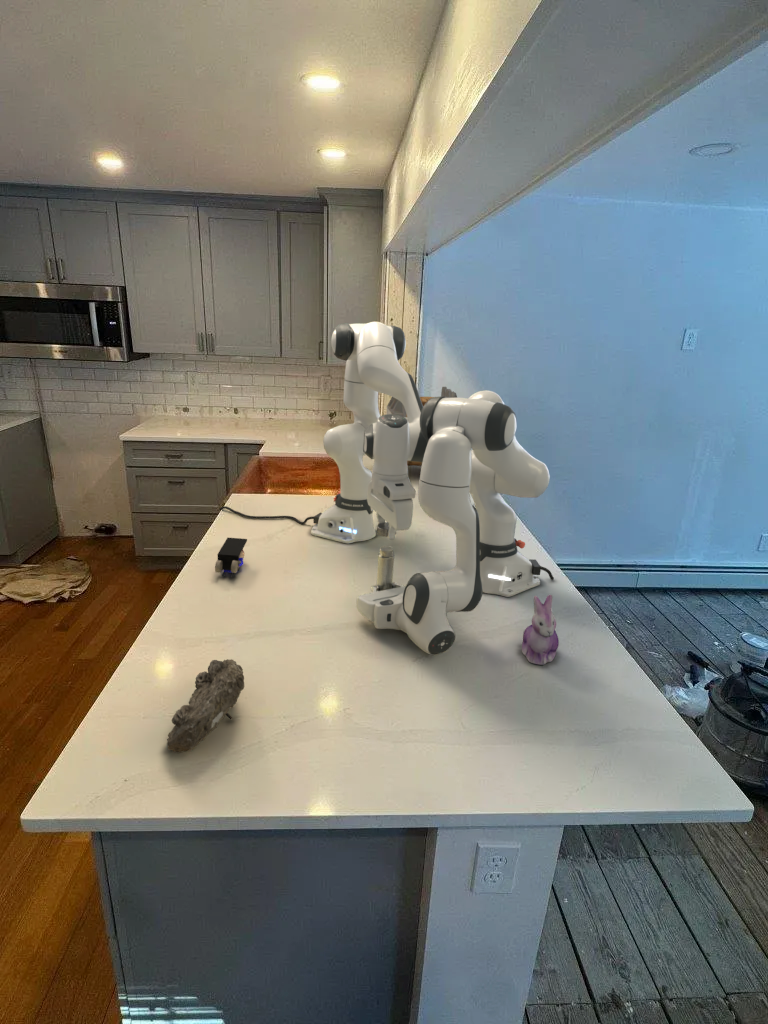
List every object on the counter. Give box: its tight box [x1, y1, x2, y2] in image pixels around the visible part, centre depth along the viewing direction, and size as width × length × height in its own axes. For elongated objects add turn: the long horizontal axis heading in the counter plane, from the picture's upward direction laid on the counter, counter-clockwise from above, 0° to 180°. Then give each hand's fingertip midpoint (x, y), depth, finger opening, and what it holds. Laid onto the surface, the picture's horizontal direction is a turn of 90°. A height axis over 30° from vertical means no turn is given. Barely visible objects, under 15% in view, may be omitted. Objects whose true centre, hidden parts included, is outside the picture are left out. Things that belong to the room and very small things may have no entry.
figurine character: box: [214, 537, 248, 578], centre depth 166 cm, size 7×8×15 cm
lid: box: [376, 521, 389, 538], centre depth 144 cm, size 5×5×2 cm
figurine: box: [521, 594, 560, 666], centre depth 130 cm, size 9×10×15 cm
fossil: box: [166, 658, 245, 754], centre depth 106 cm, size 22×10×15 cm
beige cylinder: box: [376, 545, 395, 591], centre depth 149 cm, size 4×4×17 cm
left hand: (386, 533), depth 145 cm, fingers closed on lid, 4 cm apart
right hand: (382, 586), depth 150 cm, fingers closed on beige cylinder, 4 cm apart
